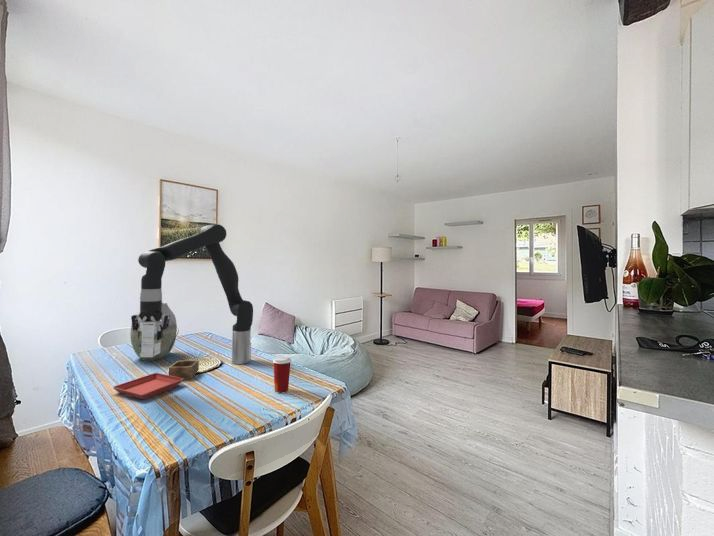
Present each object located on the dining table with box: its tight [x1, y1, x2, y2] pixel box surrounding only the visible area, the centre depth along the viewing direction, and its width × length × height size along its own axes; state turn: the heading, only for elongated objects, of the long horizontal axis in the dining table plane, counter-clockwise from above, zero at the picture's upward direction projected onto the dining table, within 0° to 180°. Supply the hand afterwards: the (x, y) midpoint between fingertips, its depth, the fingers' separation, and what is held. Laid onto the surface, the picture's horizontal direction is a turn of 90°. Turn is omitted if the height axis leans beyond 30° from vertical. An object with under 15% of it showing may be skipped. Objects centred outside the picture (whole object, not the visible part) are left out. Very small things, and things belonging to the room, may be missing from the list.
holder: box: [168, 359, 200, 380], centre depth 143 cm, size 10×10×6 cm
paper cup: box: [272, 354, 292, 394], centre depth 130 cm, size 8×8×14 cm
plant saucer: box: [112, 372, 184, 400], centre depth 127 cm, size 18×18×3 cm
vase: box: [129, 301, 178, 362], centre depth 168 cm, size 21×21×30 cm
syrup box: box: [138, 320, 162, 358], centre depth 127 cm, size 6×6×14 cm
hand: (150, 339), depth 127 cm, fingers closed on syrup box, 6 cm apart
